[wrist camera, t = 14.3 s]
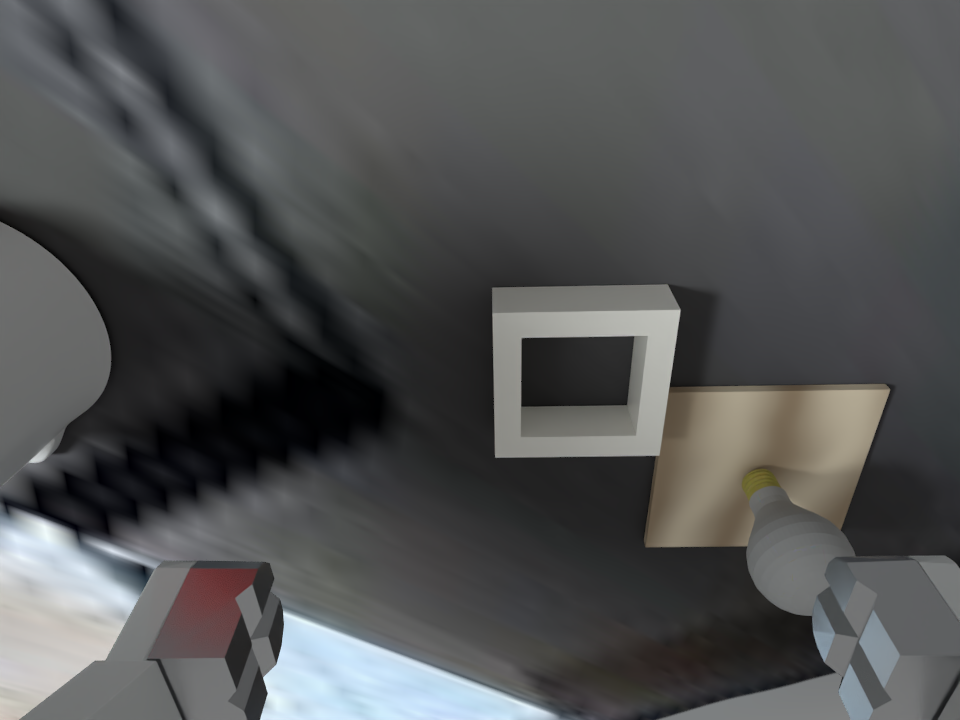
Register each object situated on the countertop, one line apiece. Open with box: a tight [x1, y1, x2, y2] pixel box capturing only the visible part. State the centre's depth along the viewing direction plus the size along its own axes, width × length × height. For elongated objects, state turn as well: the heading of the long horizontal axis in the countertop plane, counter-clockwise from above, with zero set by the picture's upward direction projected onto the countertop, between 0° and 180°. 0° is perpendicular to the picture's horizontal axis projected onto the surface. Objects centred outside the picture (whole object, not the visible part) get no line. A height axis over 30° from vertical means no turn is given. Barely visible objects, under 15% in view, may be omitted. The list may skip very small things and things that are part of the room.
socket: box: [492, 284, 681, 458], centre depth 39 cm, size 10×10×3 cm
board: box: [644, 384, 890, 547], centre depth 44 cm, size 13×13×1 cm
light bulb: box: [742, 469, 855, 616], centre depth 39 cm, size 5×5×10 cm
